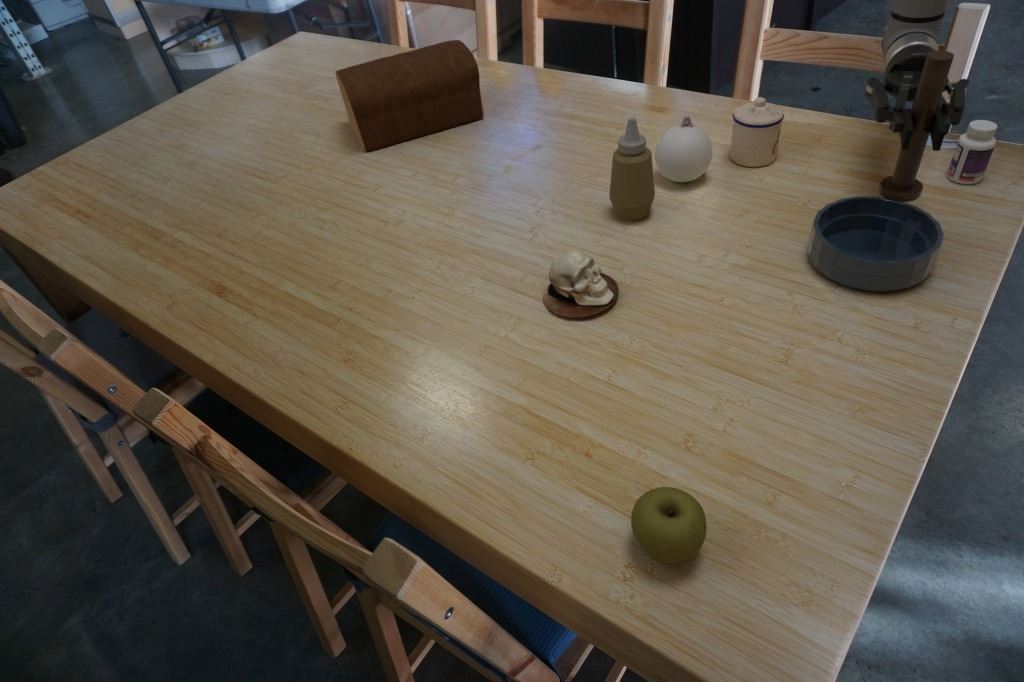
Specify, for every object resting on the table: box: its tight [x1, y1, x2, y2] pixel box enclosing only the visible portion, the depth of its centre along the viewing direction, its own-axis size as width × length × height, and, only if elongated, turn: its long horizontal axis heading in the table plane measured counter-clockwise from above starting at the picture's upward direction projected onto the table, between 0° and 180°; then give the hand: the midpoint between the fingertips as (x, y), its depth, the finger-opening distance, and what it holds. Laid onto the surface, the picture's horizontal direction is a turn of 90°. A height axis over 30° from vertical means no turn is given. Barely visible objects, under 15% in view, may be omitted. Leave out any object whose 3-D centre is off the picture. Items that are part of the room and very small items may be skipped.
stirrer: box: [877, 50, 955, 203], centre depth 92 cm, size 6×6×20 cm
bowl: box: [807, 195, 945, 292], centre depth 103 cm, size 17×17×6 cm
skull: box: [542, 250, 620, 318], centre depth 106 cm, size 12×10×10 cm
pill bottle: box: [946, 119, 998, 185], centre depth 114 cm, size 5×5×10 cm
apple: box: [630, 486, 707, 564], centre depth 72 cm, size 8×8×7 cm
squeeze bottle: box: [608, 117, 656, 222], centre depth 116 cm, size 8×8×18 cm
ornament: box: [654, 115, 713, 183], centre depth 125 cm, size 10×10×12 cm
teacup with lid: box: [729, 96, 785, 168], centre depth 128 cm, size 12×9×12 cm
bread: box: [335, 39, 485, 153], centre depth 156 cm, size 18×30×16 cm, turn 111°
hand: (923, 140), depth 88 cm, fingers closed on stirrer, 3 cm apart
